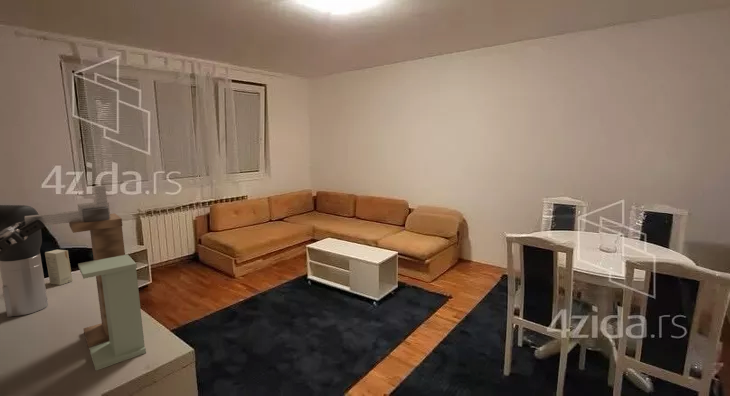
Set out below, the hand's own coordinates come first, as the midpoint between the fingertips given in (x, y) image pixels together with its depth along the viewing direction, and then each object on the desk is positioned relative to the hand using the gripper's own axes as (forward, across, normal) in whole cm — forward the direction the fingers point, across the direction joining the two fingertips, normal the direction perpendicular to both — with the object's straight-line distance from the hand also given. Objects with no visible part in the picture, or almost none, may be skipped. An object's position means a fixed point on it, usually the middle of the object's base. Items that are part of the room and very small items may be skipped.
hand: (41, 219), depth 84 cm
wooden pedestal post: (-8, 0, +34) cm, 35 cm away
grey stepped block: (+4, 0, +4) cm, 5 cm away
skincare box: (-14, +57, +31) cm, 66 cm away
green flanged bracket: (-8, -13, +34) cm, 37 cm away
